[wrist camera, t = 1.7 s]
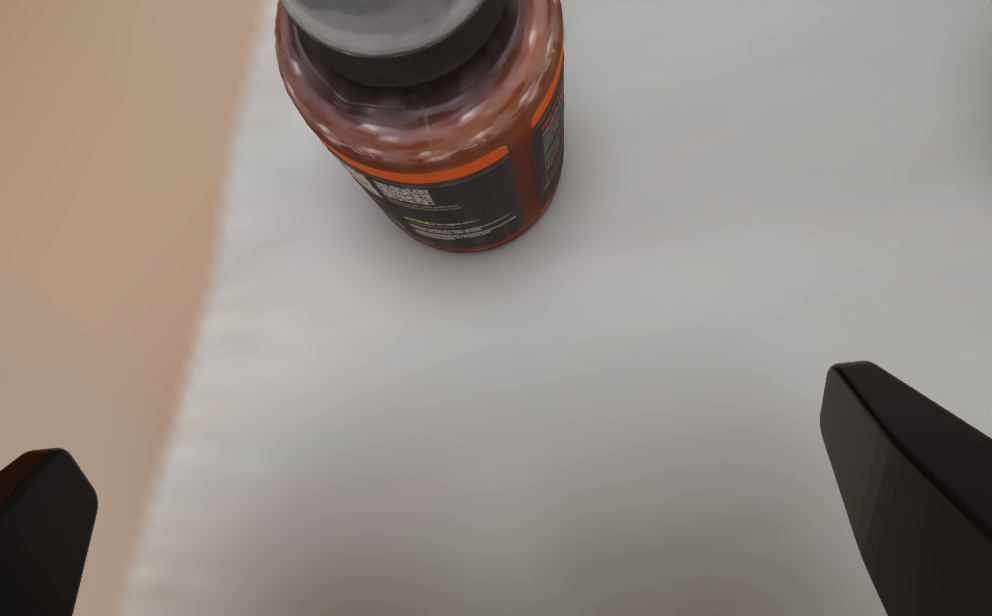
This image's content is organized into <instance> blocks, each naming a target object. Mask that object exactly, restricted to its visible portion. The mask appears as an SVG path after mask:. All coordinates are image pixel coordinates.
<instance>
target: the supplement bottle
mask: <svg viewBox="0 0 992 616" xmlns="http://www.w3.org/2000/svg"><path fill="white" fill-rule="evenodd" d="M275 48H276V56H277V61H278V65H279V70H280V73H281V77H282V79H283V81H284V85H285V88H286V90H287V93H288V94H289V96H290V98H291V99H292V101H293V103H294V105H295V106H296V108H297V109H298V111H299V112H300V114H301V115H302V117H303V118H304V120H305V122H306V123H307V125H308V126H309V127H310V128H311V129H312V130H313V131H314V133H315V134H316V135H317V136H318V137H319V138H320V140H321V141H322V143H323V144H324V145H325V146H326V147H327V148H328V150H329V151H330V152H331V153H332V154H333V155H334V156H335V157H336V158H337V159H338V160H339V161H340V162H341V163H342V165H343V166H344V167H345V168H346V169H347V170H348V172H349V173H350V174H351V175H352V176H353V178H354V179H355V180H356V181H357V182H358V183H359V184H360V185H361V186H362V187H363V189H364V190H365V191H366V192H367V193H368V194H369V195H370V196H371V198H372V199H373V200H374V201H375V202H376V203H377V204H378V205H379V207H380V208H381V209H382V210H383V211H384V212H385V213H386V215H387V216H388V217H389V218H390V219H391V220H392V221H393V222H394V223H395V224H396V225H397V226H399V227H400V228H401V229H403V230H404V231H405V232H406V233H408V234H409V235H410V236H411V237H412V238H414V239H416V240H418V241H420V242H423V243H425V244H427V245H429V246H432V247H436V248H439V249H443V250H449V251H456V252H465V251H480V250H485V249H490V248H493V247H496V246H499V245H501V244H503V243H505V242H508V241H509V240H511V239H513V238H515V237H516V236H518V235H519V234H521V233H522V232H524V231H525V230H526V229H527V228H528V227H530V226H531V225H532V224H533V223H534V222H535V221H536V220H537V219H538V218H539V216H540V215H541V214H542V213H543V212H544V211H545V209H546V208H547V206H548V205H549V203H550V201H551V199H552V197H553V195H554V192H555V190H556V187H557V184H558V181H559V178H560V174H561V169H562V163H563V150H564V50H563V18H562V8H561V3H560V0H279V1H278V4H277V15H276V20H275Z"/></svg>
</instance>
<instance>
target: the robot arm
mask: <svg viewBox="0 0 992 616" xmlns="http://www.w3.org/2000/svg"><path fill="white" fill-rule="evenodd" d="M820 427H821V433H822V437H823V440H824V443H825V446H826V450H827V453H828V456H829V459H830V462H831V465H832V468H833V471H834V474H835V477H836V480H837V484H838V487H839V490H840V493H841V496H842V499H843V502H844V505H845V508H846V511H847V514H848V518H849V521H850V524H851V527H852V530H853V533H854V536H855V539H856V542H857V545H858V548H859V551H860V553H861V556H862V559H863V561H864V563H865V566H866V568H867V571H868V573H869V575H870V578H871V580H872V582H873V584H874V586H875V589H876V591H877V593H878V595H879V597H880V599H881V602H882V604H883V606H884V608H885V610H886V613H887V615H888V616H992V439H991V438H990V437H988V436H987V435H985V434H983V433H982V432H980V431H979V430H977V429H976V428H974V427H973V426H971V425H969V424H968V423H966V422H965V421H963V420H962V419H960V418H959V417H957V416H955V415H954V414H952V413H951V412H949V411H948V410H946V409H944V408H943V407H941V406H940V405H938V404H937V403H935V402H934V401H932V400H930V399H929V398H927V397H926V396H924V395H923V394H921V393H920V392H918V391H916V390H915V389H913V388H912V387H910V386H909V385H907V384H906V383H904V382H902V381H901V380H899V379H898V378H896V377H895V376H893V375H892V374H890V373H888V372H887V371H885V370H884V369H882V368H881V367H879V366H877V365H876V364H874V363H872V362H869V361H856V362H846V363H837V364H834V365H832V366H831V367H830V369H829V370H828V373H827V377H826V383H825V389H824V395H823V401H822V407H821V413H820ZM97 509H98V500H97V495H96V492H95V490H94V488H93V486H92V485H91V484H90V482H89V480H88V479H87V478H86V476H85V475H84V473H83V472H82V470H81V469H80V467H79V466H78V465H77V463H76V461H75V460H74V459H73V457H72V455H71V454H70V453H69V452H68V451H66V450H64V449H62V448H49V449H40V450H32V451H28V452H26V453H24V454H22V455H21V456H19V457H18V458H17V459H16V460H14V461H13V462H11V463H10V464H9V465H8V466H6V467H5V468H4V469H2V470H1V471H0V616H72V614H73V611H74V607H75V603H76V599H77V594H78V590H79V586H80V582H81V578H82V573H83V569H84V565H85V561H86V557H87V552H88V548H89V544H90V540H91V535H92V531H93V527H94V523H95V519H96V515H97Z"/></svg>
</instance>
